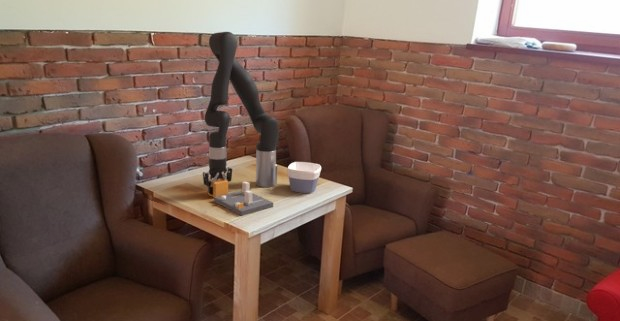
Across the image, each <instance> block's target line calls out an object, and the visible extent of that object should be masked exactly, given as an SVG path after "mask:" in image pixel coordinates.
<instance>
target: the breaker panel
mask: <svg viewBox="0 0 620 321" xmlns="http://www.w3.org/2000/svg"><path fill="white" fill-rule="evenodd" d="M241 192H242V189H241V190H239V191H234V192H228V194H225V195H221V196H217V197H213V202H214V203H216V204H217V205H220V206H221V207H223V208H226V209H228V210H229V211H231V212H233V213H235V214H237V215H239V216H242V217H243V216H244V217H245V216H247V215H249V214H253V213H256V212H260V211H264V210H268V209H271V208H273V207H274V202H273V201H271V200H269V199H266V198H264V197H263V196H259V195H258V194H255V193H253V192H252V201H253V202H254V204H252V205H246V204H244V203H243V201H245V195H243V194H241Z"/></svg>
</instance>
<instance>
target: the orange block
mask: <svg viewBox="0 0 620 321" xmlns="http://www.w3.org/2000/svg"><path fill="white" fill-rule="evenodd" d="M212 180H213V178H212ZM212 187H213V195H211V194H209V193H208V192H207V195H208V196H210V197H212V198H214V197H217V196H221V195H225V194H229V182H228V181H227V180H223V179H217V180H216V181H215V182H214V183H213V186H212Z"/></svg>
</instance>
